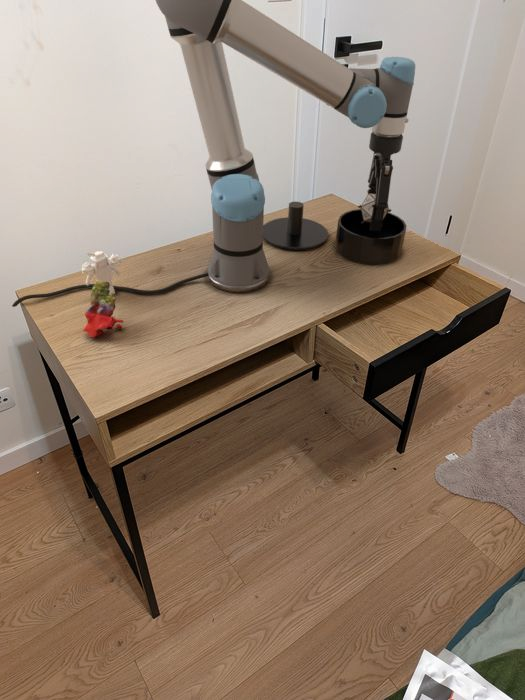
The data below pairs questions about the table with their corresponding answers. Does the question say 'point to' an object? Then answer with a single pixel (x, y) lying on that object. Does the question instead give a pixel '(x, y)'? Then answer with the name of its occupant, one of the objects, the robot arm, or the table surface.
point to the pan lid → (294, 230)
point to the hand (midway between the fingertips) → (372, 221)
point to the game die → (370, 207)
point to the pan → (369, 239)
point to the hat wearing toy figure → (102, 268)
